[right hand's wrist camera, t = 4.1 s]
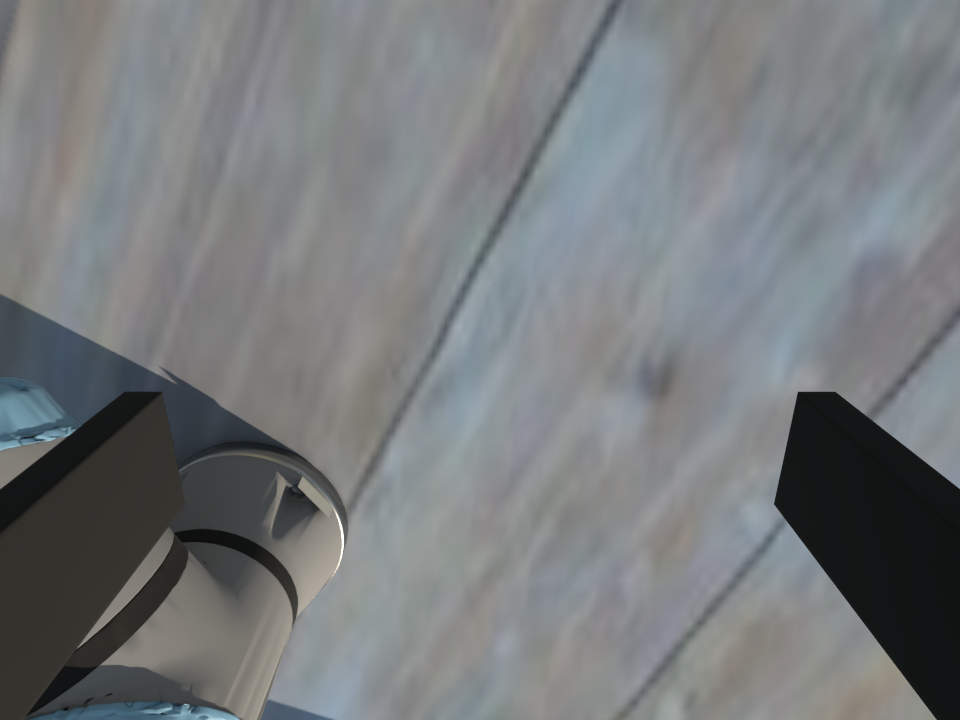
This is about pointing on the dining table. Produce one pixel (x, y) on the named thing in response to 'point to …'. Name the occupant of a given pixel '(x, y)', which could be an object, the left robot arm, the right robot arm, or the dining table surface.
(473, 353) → the dining table surface
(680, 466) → the dining table surface
